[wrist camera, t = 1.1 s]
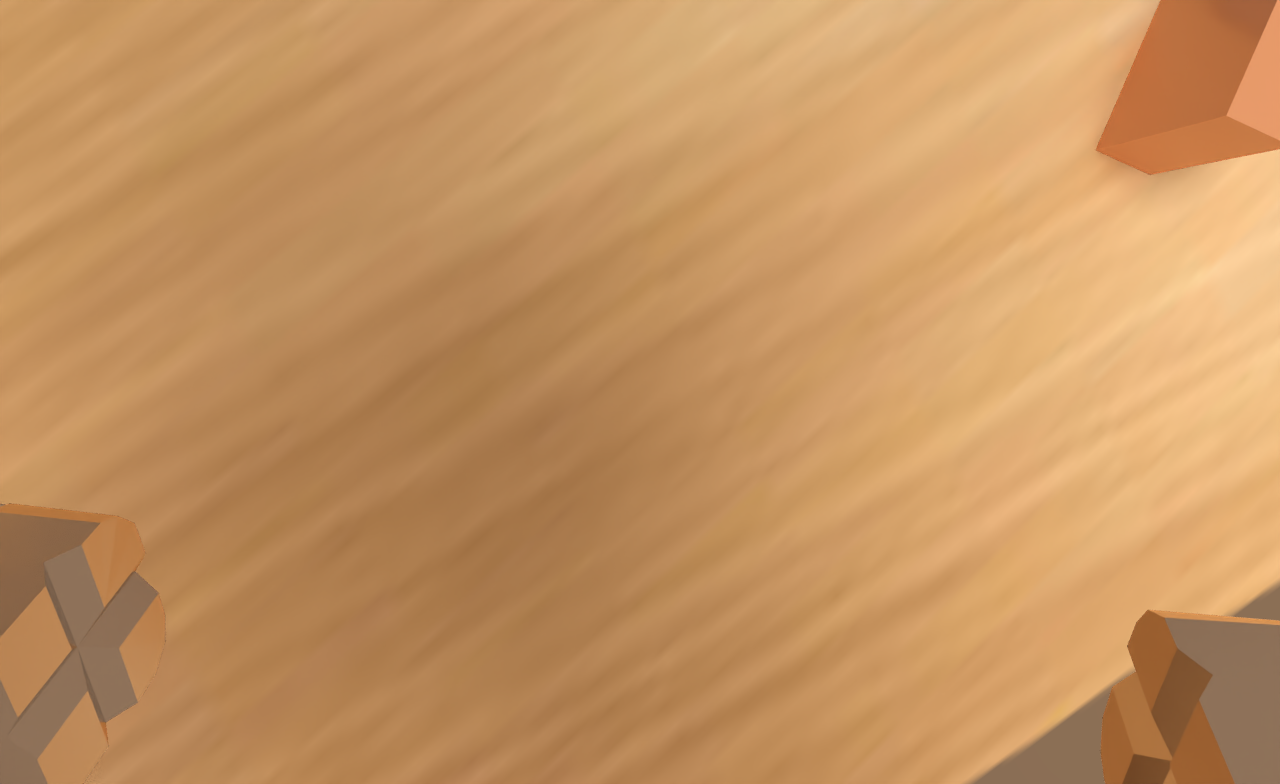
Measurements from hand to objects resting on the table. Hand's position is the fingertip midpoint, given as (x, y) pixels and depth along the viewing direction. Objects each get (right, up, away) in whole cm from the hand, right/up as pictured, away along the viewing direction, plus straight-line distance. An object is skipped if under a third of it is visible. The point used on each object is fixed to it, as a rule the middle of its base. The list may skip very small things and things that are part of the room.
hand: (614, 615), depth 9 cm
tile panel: (+25, +18, +42) cm, 52 cm away
